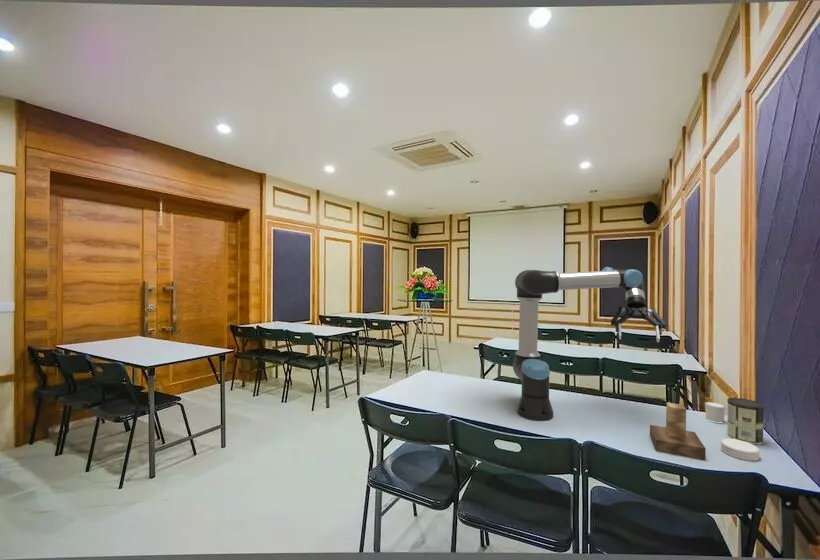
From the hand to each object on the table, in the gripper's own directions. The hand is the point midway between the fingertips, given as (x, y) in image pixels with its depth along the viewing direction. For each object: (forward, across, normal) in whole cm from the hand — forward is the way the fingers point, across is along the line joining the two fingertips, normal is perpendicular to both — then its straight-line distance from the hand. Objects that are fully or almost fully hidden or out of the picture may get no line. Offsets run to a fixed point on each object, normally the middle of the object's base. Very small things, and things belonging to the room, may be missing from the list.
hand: (638, 339), depth 150 cm
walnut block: (+38, -10, -13) cm, 41 cm away
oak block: (+35, -10, -10) cm, 38 cm away
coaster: (+35, -29, -16) cm, 48 cm away
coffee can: (+24, -35, -27) cm, 50 cm away
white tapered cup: (+12, -30, -38) cm, 50 cm away
